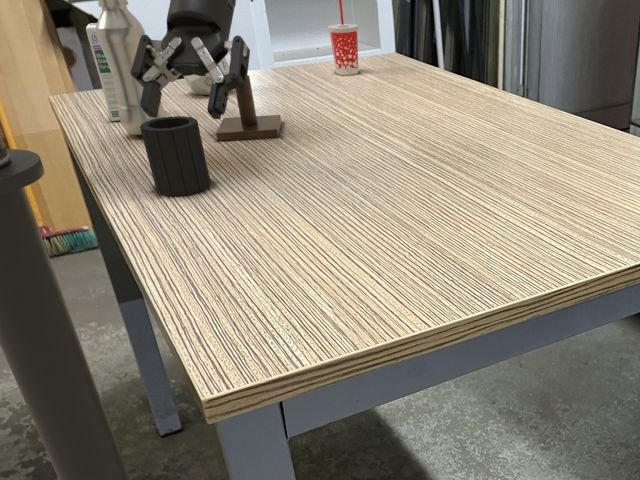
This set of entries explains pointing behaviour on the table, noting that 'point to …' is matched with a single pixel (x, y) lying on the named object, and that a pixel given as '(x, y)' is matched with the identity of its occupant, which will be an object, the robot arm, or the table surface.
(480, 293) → the table surface
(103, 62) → the syrup box
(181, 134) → the black hollow cylinder
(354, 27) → the beverage cup
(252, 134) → the peg stand
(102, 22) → the plastic bottle
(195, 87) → the die
